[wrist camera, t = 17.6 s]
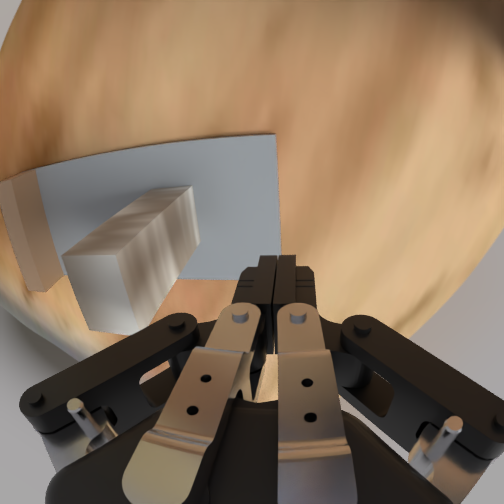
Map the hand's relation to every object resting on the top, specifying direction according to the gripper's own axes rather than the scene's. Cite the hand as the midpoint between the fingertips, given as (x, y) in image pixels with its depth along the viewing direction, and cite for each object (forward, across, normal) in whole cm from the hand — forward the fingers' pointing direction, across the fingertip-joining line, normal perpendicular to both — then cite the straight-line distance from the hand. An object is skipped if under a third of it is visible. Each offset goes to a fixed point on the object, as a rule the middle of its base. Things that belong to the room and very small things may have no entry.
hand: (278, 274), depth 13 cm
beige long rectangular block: (+8, +7, 0) cm, 11 cm away
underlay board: (+8, +11, 0) cm, 14 cm away
